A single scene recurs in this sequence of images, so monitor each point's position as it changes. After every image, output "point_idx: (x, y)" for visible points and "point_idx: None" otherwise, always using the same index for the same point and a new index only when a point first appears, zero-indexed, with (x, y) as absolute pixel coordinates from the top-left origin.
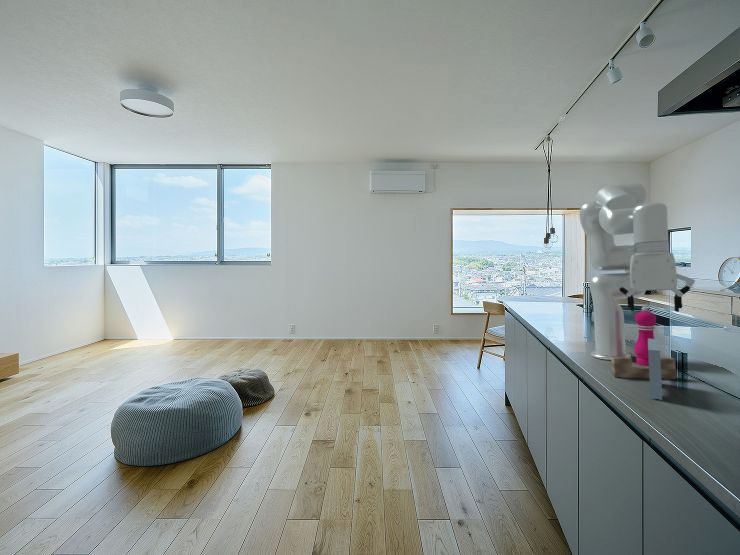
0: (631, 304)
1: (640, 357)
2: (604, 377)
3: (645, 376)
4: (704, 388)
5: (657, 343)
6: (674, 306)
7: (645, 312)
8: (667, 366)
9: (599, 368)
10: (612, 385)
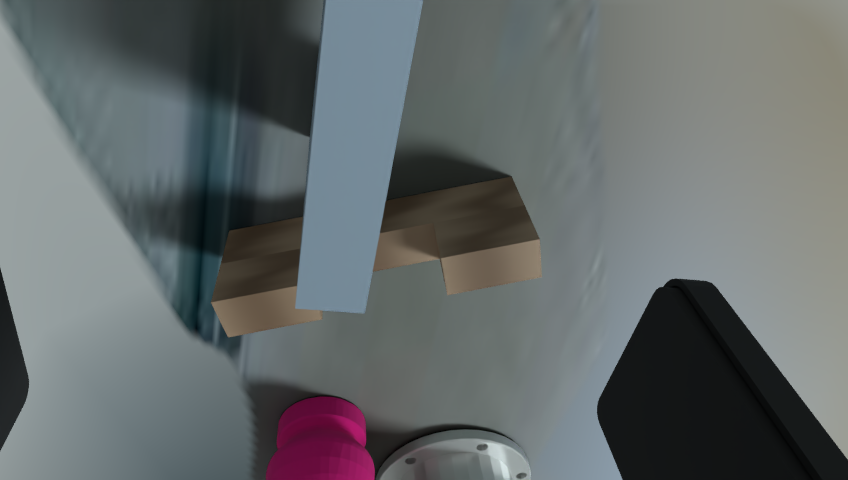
0: (765, 362)
1: (351, 436)
2: (562, 163)
3: None
4: (107, 104)
5: (322, 136)
6: (1, 443)
7: None
8: (257, 265)
9: (543, 306)
10: (562, 18)
